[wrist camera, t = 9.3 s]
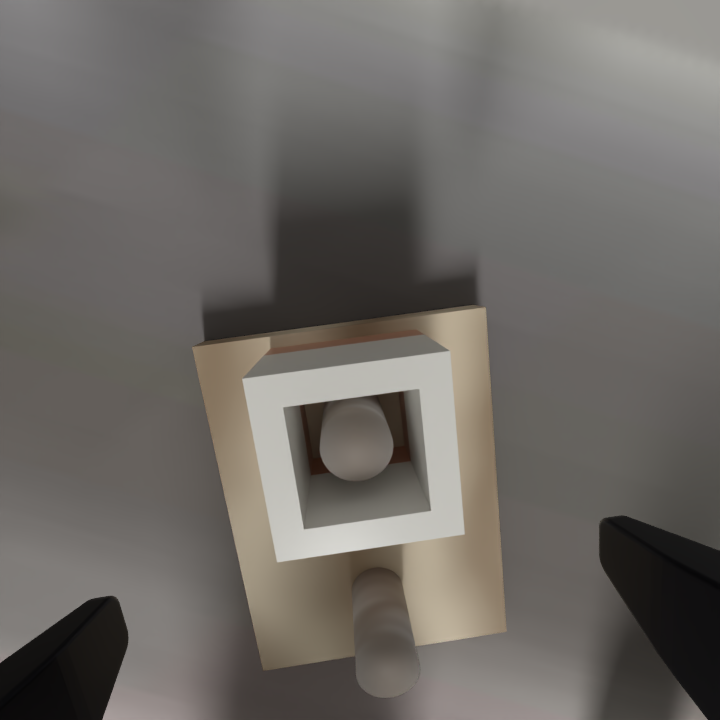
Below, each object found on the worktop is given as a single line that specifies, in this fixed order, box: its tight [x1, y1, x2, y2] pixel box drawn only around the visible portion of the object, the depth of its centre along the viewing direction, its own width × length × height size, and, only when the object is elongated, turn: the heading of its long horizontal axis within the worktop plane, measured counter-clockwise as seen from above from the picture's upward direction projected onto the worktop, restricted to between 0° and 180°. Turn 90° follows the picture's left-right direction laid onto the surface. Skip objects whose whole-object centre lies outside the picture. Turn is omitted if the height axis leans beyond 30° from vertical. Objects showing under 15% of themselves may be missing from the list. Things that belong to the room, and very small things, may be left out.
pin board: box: [192, 305, 506, 698], centre depth 17 cm, size 12×16×6 cm
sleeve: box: [242, 330, 465, 562], centre depth 15 cm, size 6×6×5 cm
